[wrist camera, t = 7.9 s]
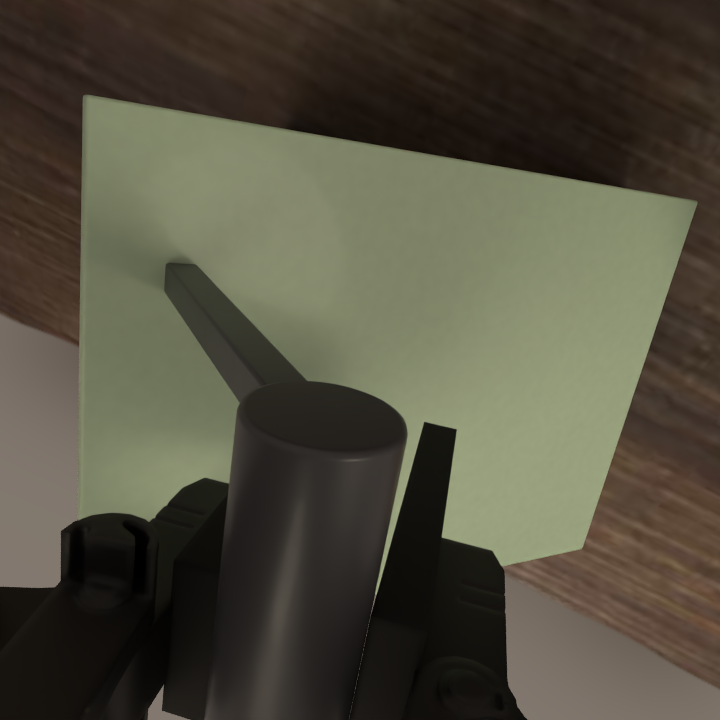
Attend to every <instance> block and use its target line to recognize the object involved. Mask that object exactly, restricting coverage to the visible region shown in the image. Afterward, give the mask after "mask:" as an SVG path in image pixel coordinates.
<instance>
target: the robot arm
mask: <svg viewBox="0 0 720 720" xmlns="http://www.w3.org/2000/svg"><path fill="white" fill-rule="evenodd" d="M456 433H457V429H453V428H449V427H445V426H440V425H436V424H432V423H428V422H424V424H423V428H422V432H421V435H420V439H419V443H418V446H417V450H416V454H415V457H414V461H413V464H412V468H411V472H410V475H409V479H408V483H407V486H406V490H405V494H404V497H403V501H402V504H401V508H400V512H399V515H398V519H397V523H396V526H395V530H394V534H393V537H392V541H391V544H390V548H389V552H388V555H387V559H386V563H385V566H384V570H383V574H382V577H381V581H380V584H379V588H378V592H377V596H376V599H375V603H374V607H373V610H372V614H371V617H370V622H369V627H368V632H367V637H366V641H365V646H364V651H363V656H362V660H361V665H360V670H359V675H358V679H357V684H356V689H355V694H354V698H353V703H352V708H351V713H350V717H349V720H527V719H526V718H525V717H524V716H523V714H522V713H521V711H520V710H519V708H518V707H517V704H516V699H515V697H514V696H513V694H512V692H511V691H510V689H509V687H508V681H507V656H506V655H507V654H506V617H505V596H504V593H505V575H504V570H503V568H502V566H501V565H500V563H499V561H498V559H497V558H496V556H495V554H494V552H493V551H492V550H488V549H484V548H480V547H476V546H472V545H469V544H465V543H461V542H457V541H453V540H450V539H446V538H442V531H443V524H444V517H445V510H446V503H447V496H448V489H449V482H450V475H451V468H452V461H453V454H454V447H455V440H456ZM228 489H229V484H228V483H224V482H220V481H217V480H213V479H209V478H203V479H200V480H198V481H196V482H194V483H192V484H190V485H187V486H185V487H183V488H182V489H181V490H180V491H179V492H178V493H177V494H176V495H175V496H174V497H173V498H172V499H171V500H170V501H169V502H168V505H167V506H164V507H163V508H162V509H161V510H160V511H159V512H158V513H157V514H156V517H155V519H154V518H153V519H152V520H151V521H150V522H148V521H147V520H146V519H143V518H140V517H137V516H134V515H132V514H124V513H104V514H96V515H91V516H88V517H86V518H83V519H80V520H77V521H75V522H73V523H72V524H70V525H69V526H68V527H66V528H65V529H64V530H62V531H61V581H60V583H59V584H58V585H57V586H56V587H54V588H20V587H0V720H147V718H148V708H149V707H150V705H151V704H152V702H153V700H154V699H155V697H156V695H157V694H158V693H159V691H160V690H161V688H162V686H163V685H164V691H163V692H164V693H163V705H162V711H165V712H168V713H171V714H175V715H178V716H181V717H184V718H187V719H190V720H204V716H205V706H206V697H207V688H208V678H209V669H210V659H211V650H212V640H213V631H214V621H215V612H216V603H217V593H218V584H219V574H220V565H221V555H222V546H223V537H224V527H225V518H226V508H227V499H228Z"/></svg>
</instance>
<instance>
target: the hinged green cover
mask: <svg viewBox="0 0 720 720" xmlns="http://www.w3.org/2000/svg"><path fill="white" fill-rule="evenodd" d="M696 206H697V201H696V200H690V199H685V198H679V197H673V196H667V195H662V194H656V193H650V192H644V191H639V190H633V189H627V188H621V187H616V186H610V185H604V184H598V183H593V182H587V181H581V180H575V179H570V178H564V177H558V176H552V175H547V174H541V173H535V172H529V171H524V170H518V169H512V168H506V167H501V166H495V165H489V164H483V163H478V162H472V161H466V160H460V159H455V158H449V157H443V156H437V155H432V154H426V153H420V152H414V151H409V150H403V149H397V148H391V147H386V146H380V145H374V144H368V143H363V142H357V141H351V140H345V139H340V138H334V137H328V136H322V135H317V134H311V133H305V132H299V131H294V130H288V129H282V128H276V127H271V126H265V125H259V124H253V123H248V122H242V121H236V120H230V119H225V118H219V117H213V116H207V115H202V114H196V113H190V112H184V111H179V110H173V109H167V108H161V107H156V106H150V105H144V104H138V103H133V102H127V101H121V100H116V99H110V98H104V97H98V96H93V95H84V97H83V128H82V200H81V271H80V343H79V415H78V486H77V488H78V489H77V491H78V492H77V520H80V519H83V518H86V517H88V516H91V515H96V514H104V513H124V514H132V515H134V516H137V517H140V518H143V519H146V520H147V521H148V522H150V521H151V520H152V519H153V518H154V519H155V517H156V514H157V513H158V512H159V511H160V510H161V509H162V508H163V507H164V506H167V505H168V502H169V501H170V500H171V499H172V498H173V497H174V496H175V495H176V494H177V493H178V492H179V491H180V490H181V489H182V488H183V487H185V486H187V485H190V484H192V483H194V482H196V481H198V480H200V479H203V478H209V479H213V480H217V481H220V482H224V483H228V484H229V489H228V499H227V508H226V518H225V527H224V537H223V546H222V555H221V565H220V574H219V584H218V593H217V603H216V612H215V621H214V631H213V640H212V650H211V659H210V669H209V678H208V688H207V697H206V706H205V716H204V720H349V716H350V711H351V706H352V702H353V697H354V692H355V687H356V682H357V678H358V673H359V668H360V663H361V658H362V654H363V649H364V644H365V639H366V634H367V630H368V624H369V620H370V615H371V610H372V605H373V601H374V596H375V594H377V592H378V588H379V584H380V581H381V577H382V574H383V570H384V566H385V563H386V559H387V555H388V552H389V548H390V544H391V541H392V537H393V534H394V530H395V526H396V523H397V519H398V515H399V512H400V508H401V504H402V501H403V497H404V494H405V490H406V486H407V483H408V479H409V475H410V472H411V468H412V464H413V461H414V457H415V454H416V450H417V446H418V443H419V439H420V435H421V432H422V428H423V424H424V422H428V423H432V424H436V425H440V426H445V427H449V428H453V429H457V433H456V440H455V447H454V454H453V461H452V468H451V475H450V482H449V489H448V496H447V503H446V510H445V517H444V524H443V531H442V538H446V539H450V540H453V541H457V542H461V543H465V544H469V545H472V546H476V547H480V548H484V549H488V550H492V551H493V552H494V554H495V556H496V558H497V559H498V561H499V563H500V565H501V566H506V565H510V564H515V563H519V562H524V561H529V560H533V559H538V558H542V557H547V556H551V555H556V554H560V553H565V552H570V551H574V550H579V549H582V548H583V545H584V542H585V539H586V536H587V533H588V530H589V527H590V524H591V521H592V518H593V515H594V512H595V509H596V506H597V503H598V500H599V497H600V494H601V491H602V488H603V485H604V482H605V479H606V476H607V473H608V470H609V467H610V464H611V461H612V458H613V455H614V452H615V449H616V446H617V443H618V440H619V437H620V434H621V431H622V428H623V425H624V422H625V419H626V416H627V413H628V410H629V407H630V404H631V401H632V398H633V395H634V392H635V389H636V386H637V383H638V380H639V377H640V374H641V371H642V368H643V365H644V362H645V359H646V356H647V353H648V350H649V347H650V344H651V341H652V338H653V335H654V332H655V329H656V326H657V323H658V320H659V317H660V314H661V311H662V308H663V305H664V302H665V299H666V296H667V293H668V290H669V287H670V284H671V281H672V278H673V275H674V272H675V269H676V266H677V263H678V260H679V257H680V254H681V251H682V248H683V245H684V242H685V239H686V236H687V233H688V230H689V227H690V224H691V221H692V218H693V215H694V212H695V209H696Z"/></svg>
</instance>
